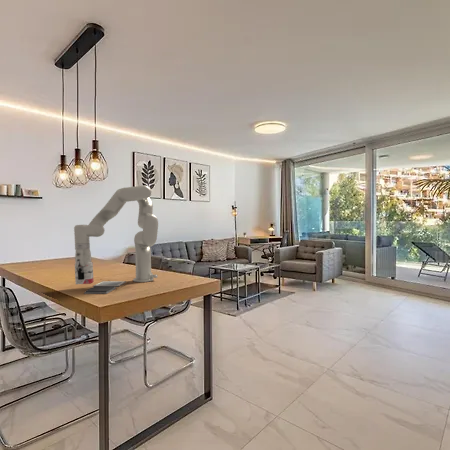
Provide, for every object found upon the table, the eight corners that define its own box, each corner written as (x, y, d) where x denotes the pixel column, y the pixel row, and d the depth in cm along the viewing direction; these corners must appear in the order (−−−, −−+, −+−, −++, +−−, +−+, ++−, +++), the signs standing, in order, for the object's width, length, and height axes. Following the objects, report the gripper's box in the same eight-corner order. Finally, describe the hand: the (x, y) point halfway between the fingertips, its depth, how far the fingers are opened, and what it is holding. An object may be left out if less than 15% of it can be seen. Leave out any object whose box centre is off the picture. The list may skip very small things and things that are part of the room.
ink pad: (115, 288, 170) (115, 285, 170) (106, 293, 158) (106, 290, 158) (94, 288, 170) (94, 285, 170) (84, 293, 158) (84, 290, 158)
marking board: (126, 281, 188) (126, 281, 188) (118, 286, 175) (118, 285, 175) (102, 281, 189) (102, 281, 189) (93, 286, 176) (93, 285, 176)
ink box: (94, 281, 174) (93, 261, 173) (90, 283, 169) (90, 263, 168) (78, 282, 173) (77, 262, 172) (75, 284, 168) (74, 263, 167)
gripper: (81, 248, 161) (82, 281, 162) (95, 244, 179) (97, 275, 179) (67, 248, 162) (69, 281, 162) (83, 245, 179) (84, 275, 179)
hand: (83, 278), depth 171 cm, fingers closed on ink box, 5 cm apart
